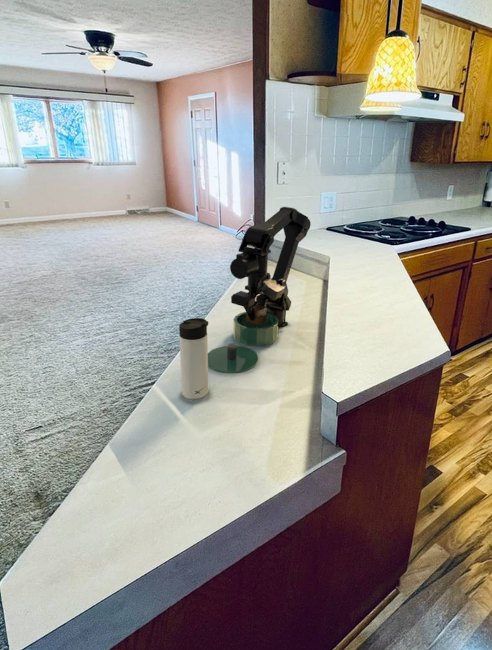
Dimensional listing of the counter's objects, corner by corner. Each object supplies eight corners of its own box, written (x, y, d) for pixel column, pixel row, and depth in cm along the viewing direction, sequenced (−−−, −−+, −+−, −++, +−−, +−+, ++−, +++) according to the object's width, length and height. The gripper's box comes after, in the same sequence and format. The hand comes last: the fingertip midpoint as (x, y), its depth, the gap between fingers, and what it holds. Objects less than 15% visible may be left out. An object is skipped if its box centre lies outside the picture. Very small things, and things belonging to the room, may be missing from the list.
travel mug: (203, 404, 97) (201, 328, 89) (177, 400, 98) (173, 324, 90) (213, 390, 102) (212, 317, 95) (188, 386, 104) (185, 313, 96)
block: (254, 316, 131) (254, 303, 129) (266, 320, 129) (266, 306, 127) (246, 321, 127) (246, 307, 126) (258, 324, 125) (258, 311, 124)
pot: (260, 325, 139) (260, 307, 137) (286, 340, 130) (287, 322, 127) (225, 335, 131) (225, 316, 129) (250, 352, 121) (250, 333, 119)
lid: (239, 344, 126) (239, 329, 124) (268, 364, 116) (269, 348, 114) (195, 357, 117) (195, 341, 115) (223, 381, 107) (223, 364, 105)
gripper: (262, 284, 111) (261, 335, 117) (296, 268, 126) (293, 314, 132) (230, 275, 116) (229, 325, 122) (266, 261, 131) (264, 306, 137)
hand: (256, 317), depth 128 cm, fingers closed on block, 4 cm apart
